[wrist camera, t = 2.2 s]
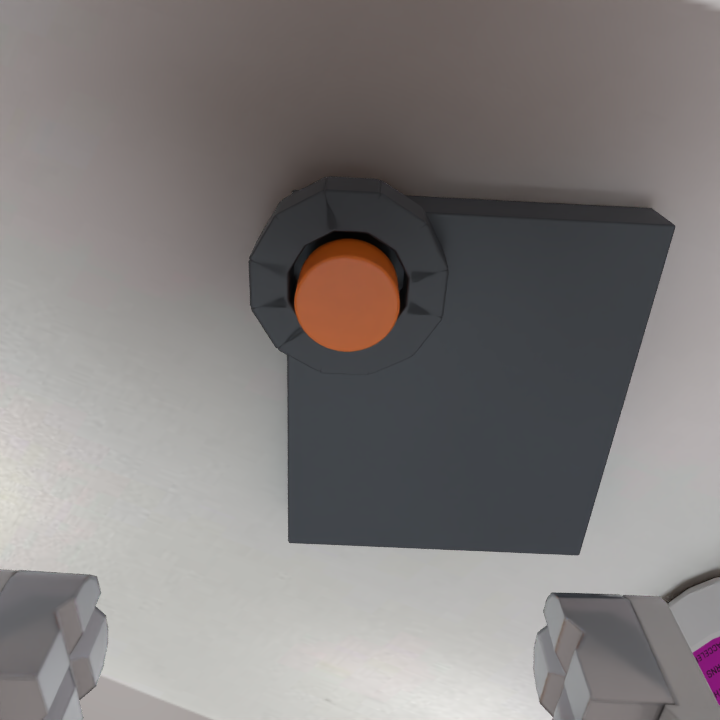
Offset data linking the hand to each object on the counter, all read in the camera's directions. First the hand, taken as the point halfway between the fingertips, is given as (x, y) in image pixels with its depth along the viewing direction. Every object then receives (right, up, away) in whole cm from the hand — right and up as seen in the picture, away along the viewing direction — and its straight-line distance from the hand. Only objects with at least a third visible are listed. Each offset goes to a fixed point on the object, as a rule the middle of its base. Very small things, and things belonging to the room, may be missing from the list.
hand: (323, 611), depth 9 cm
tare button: (0, +6, +10) cm, 12 cm away
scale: (+4, +3, +16) cm, 16 cm away
